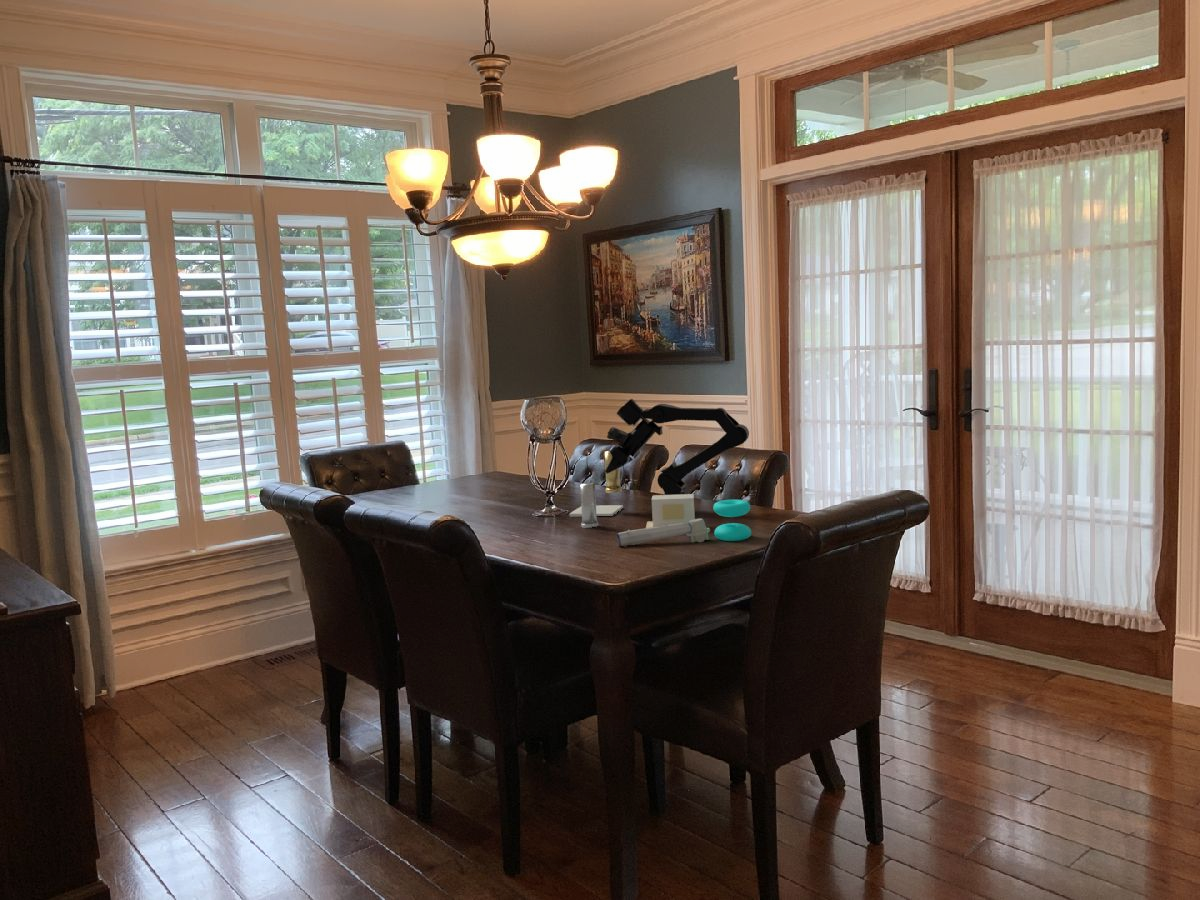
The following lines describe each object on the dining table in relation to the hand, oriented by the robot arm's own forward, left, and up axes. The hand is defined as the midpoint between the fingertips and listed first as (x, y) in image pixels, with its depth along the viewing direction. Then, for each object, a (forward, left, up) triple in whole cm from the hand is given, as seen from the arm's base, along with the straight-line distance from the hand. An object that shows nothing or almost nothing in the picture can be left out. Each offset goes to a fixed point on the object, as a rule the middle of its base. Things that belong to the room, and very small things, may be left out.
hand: (608, 471), depth 305 cm
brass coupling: (-1, -1, -7) cm, 7 cm away
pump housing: (-34, +7, -13) cm, 37 cm away
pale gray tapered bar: (-44, +24, -14) cm, 52 cm away
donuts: (-56, +9, -14) cm, 59 cm away
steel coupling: (-10, +19, -13) cm, 26 cm away
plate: (+4, +2, -13) cm, 14 cm away
